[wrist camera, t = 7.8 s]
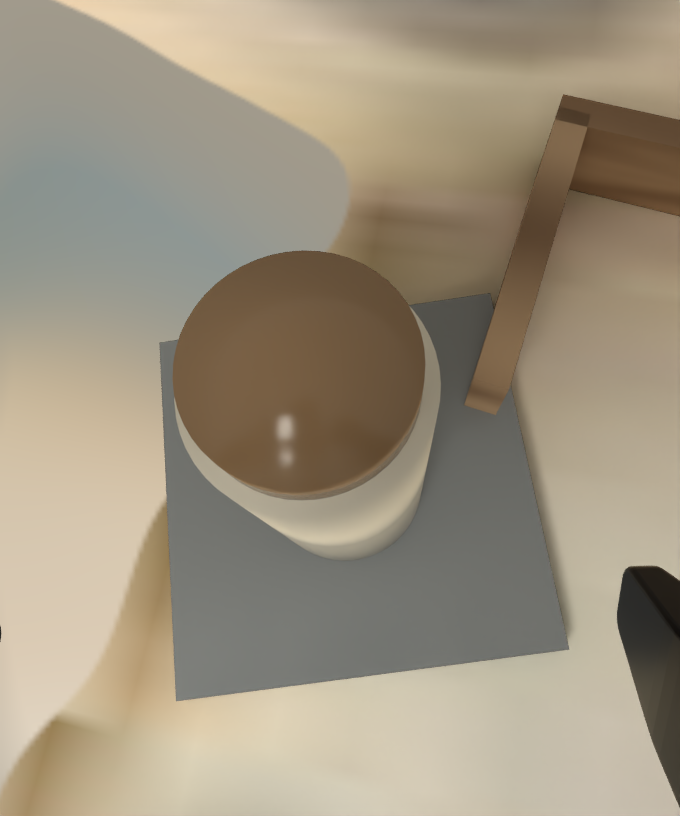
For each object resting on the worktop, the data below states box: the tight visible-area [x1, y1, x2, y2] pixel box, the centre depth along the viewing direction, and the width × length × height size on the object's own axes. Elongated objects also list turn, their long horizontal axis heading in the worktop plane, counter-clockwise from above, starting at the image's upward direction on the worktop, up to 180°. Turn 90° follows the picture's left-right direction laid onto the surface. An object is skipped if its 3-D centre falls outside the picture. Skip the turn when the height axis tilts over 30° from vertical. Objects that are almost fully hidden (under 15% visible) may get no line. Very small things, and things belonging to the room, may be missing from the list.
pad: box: [160, 293, 569, 701], centre depth 20 cm, size 11×11×1 cm
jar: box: [172, 251, 441, 561], centre depth 15 cm, size 5×5×10 cm
